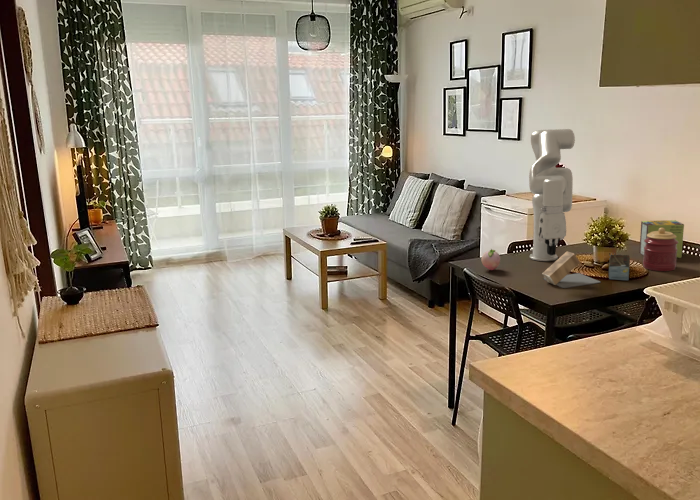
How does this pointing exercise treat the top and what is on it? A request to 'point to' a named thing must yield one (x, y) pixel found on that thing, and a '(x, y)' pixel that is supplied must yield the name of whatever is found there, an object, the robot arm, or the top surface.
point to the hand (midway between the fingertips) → (551, 254)
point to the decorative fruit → (491, 259)
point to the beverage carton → (619, 267)
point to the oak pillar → (561, 268)
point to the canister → (660, 251)
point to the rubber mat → (575, 280)
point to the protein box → (669, 226)
